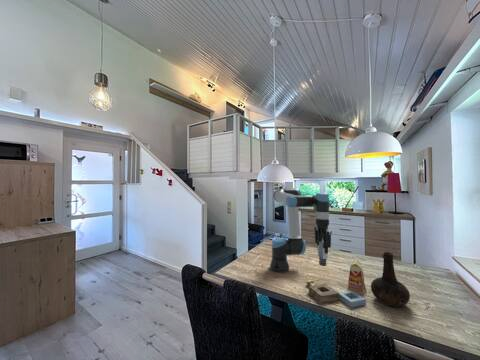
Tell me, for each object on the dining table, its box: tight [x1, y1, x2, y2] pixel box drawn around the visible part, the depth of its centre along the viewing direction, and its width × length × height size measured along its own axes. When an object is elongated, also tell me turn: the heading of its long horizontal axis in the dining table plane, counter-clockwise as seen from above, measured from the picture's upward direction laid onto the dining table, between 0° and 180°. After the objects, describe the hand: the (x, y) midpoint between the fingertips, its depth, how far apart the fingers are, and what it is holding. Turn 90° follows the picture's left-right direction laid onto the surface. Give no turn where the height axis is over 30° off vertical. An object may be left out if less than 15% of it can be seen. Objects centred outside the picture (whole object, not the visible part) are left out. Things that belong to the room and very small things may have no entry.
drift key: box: [306, 279, 316, 287], centre depth 132 cm, size 9×4×3 cm, turn 16°
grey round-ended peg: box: [318, 240, 327, 267], centre depth 124 cm, size 4×4×14 cm
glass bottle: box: [370, 251, 411, 308], centre depth 116 cm, size 18×18×28 cm
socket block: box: [308, 283, 340, 304], centre depth 123 cm, size 12×12×4 cm
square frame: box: [338, 290, 367, 308], centre depth 118 cm, size 10×10×3 cm
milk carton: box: [347, 257, 367, 295], centre depth 130 cm, size 9×9×20 cm
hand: (322, 256), depth 124 cm, fingers closed on grey round-ended peg, 4 cm apart
